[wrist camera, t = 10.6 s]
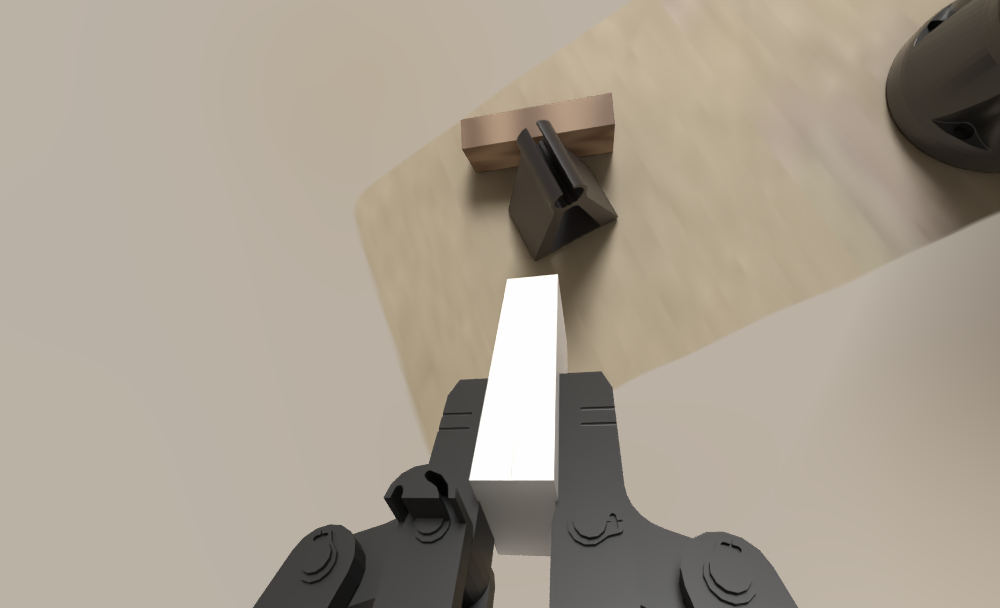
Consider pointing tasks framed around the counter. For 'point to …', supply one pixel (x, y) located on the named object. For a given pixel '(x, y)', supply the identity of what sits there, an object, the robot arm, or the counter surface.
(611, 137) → the block
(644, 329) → the counter surface
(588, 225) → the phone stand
